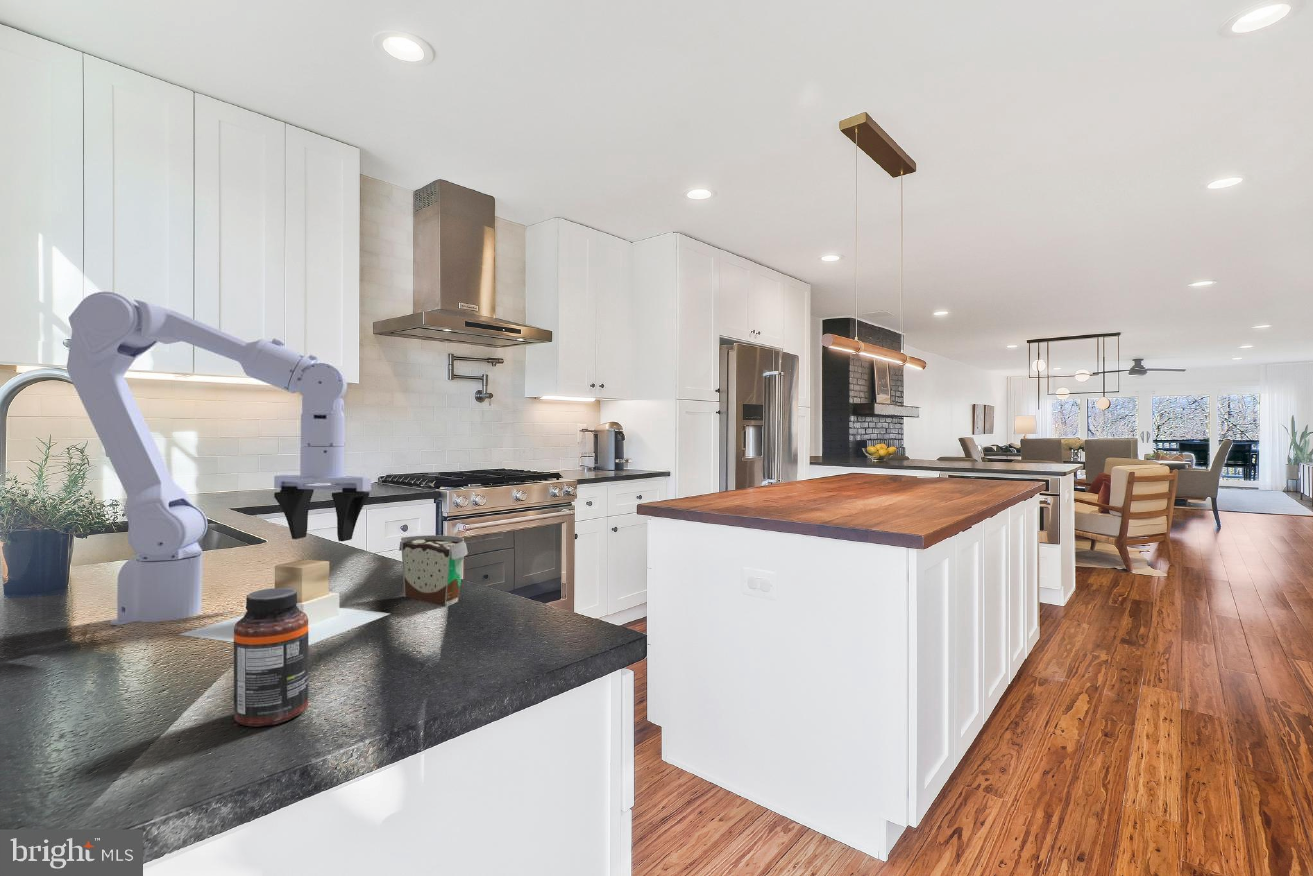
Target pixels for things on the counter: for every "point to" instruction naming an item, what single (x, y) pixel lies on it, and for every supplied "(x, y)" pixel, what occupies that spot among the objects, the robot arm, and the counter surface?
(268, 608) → the supplement bottle
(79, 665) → the counter surface
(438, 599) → the food container
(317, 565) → the maple block
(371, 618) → the white flat panel
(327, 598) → the base block
